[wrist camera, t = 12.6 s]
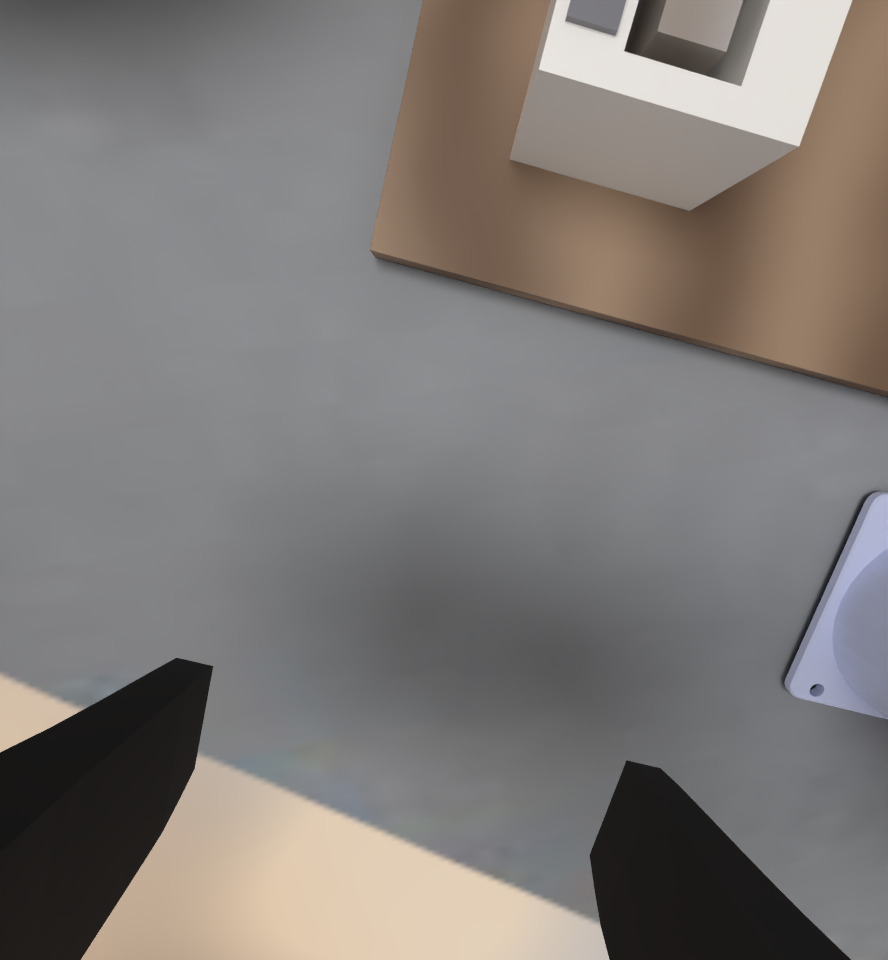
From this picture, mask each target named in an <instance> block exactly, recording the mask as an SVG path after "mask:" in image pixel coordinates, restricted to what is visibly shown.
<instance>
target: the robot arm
mask: <svg viewBox="0 0 888 960" xmlns="http://www.w3.org/2000/svg"><path fill="white" fill-rule="evenodd" d="M212 669H213V666H210V665H206V664H201V663H197V662H193V661H188V660H184V659H179V658H176V659H174V660H172V661H170V662H168V663H166V664H164V665H163V666H161V667H159V668H157V669H155V670H154V671H152V672H150V673H148V674H146V675H145V676H143V677H141V678H139V679H138V680H136V681H134V682H132V683H131V684H129V685H127V686H125V687H124V688H122V689H120V690H118V691H116V692H115V693H113V694H111V695H109V696H108V697H106V698H104V699H102V700H100V701H99V702H97V703H95V704H93V705H91V706H89V707H88V708H86V709H84V710H82V711H80V712H78V713H77V714H75V715H73V716H71V717H69V718H67V719H65V720H64V721H62V722H60V723H58V724H56V725H54V726H53V727H51V728H49V729H47V730H45V731H43V732H41V733H39V734H37V735H35V736H33V737H31V738H29V739H27V740H25V741H23V742H21V743H19V744H17V745H14V746H12V747H10V748H9V749H7V750H5V751H2V752H1V753H0V960H81V958H82V956H83V955H84V954H85V952H86V951H87V949H88V947H89V946H90V944H91V943H92V941H93V940H94V938H95V937H96V935H97V933H98V932H99V930H100V929H101V927H102V926H103V924H104V923H105V921H106V919H107V918H108V916H109V915H110V913H111V912H112V910H113V909H114V907H115V906H116V904H117V902H118V901H119V899H120V898H121V896H122V895H123V893H124V892H125V890H126V888H127V887H128V886H129V884H130V882H131V881H132V879H133V878H134V876H135V875H136V873H137V871H138V870H139V868H140V866H141V865H142V864H143V862H144V860H145V859H146V857H147V856H148V854H149V853H150V851H151V850H152V848H153V846H154V845H155V843H156V842H157V840H158V838H159V837H160V835H161V833H162V832H163V830H164V828H165V826H166V824H167V822H168V820H169V818H170V816H171V814H172V813H173V811H174V809H175V806H176V805H177V803H178V801H179V799H180V797H181V795H182V793H183V791H184V789H185V787H186V785H187V783H188V781H189V779H190V777H191V775H192V773H193V771H194V769H195V763H196V758H197V752H198V746H199V741H200V735H201V730H202V724H203V719H204V713H205V708H206V702H207V697H208V691H209V686H210V680H211V675H212ZM815 684H817V686H816V687H815V688H814V689H812V690H810V688H811V687H812V686H813V685H815ZM785 687H786V689H787V690H788V691H789V692H790V693H791V694H792V695H793V696H794V697H797V698H800V699H804V700H808V701H812V702H816V703H821V704H825V705H829V706H833V707H837V708H841V709H846V710H850V711H854V712H858V713H862V714H867V715H871V716H875V717H879V718H883V719H888V492H884V491H878V492H875V493H873V494H871V495H870V496H869V497H868V498H867V499H866V501H865V503H864V505H863V507H862V509H861V511H860V514H859V516H858V518H857V520H856V523H855V525H854V527H853V529H852V532H851V534H850V536H849V538H848V540H847V543H846V545H845V547H844V549H843V552H842V554H841V556H840V558H839V561H838V563H837V565H836V567H835V569H834V572H833V574H832V576H831V578H830V581H829V583H828V585H827V587H826V590H825V592H824V594H823V596H822V598H821V601H820V603H819V605H818V607H817V610H816V612H815V614H814V616H813V619H812V621H811V623H810V625H809V627H808V630H807V632H806V634H805V636H804V639H803V641H802V643H801V645H800V647H799V650H798V652H797V654H796V656H795V659H794V661H793V663H792V665H791V668H790V670H789V672H788V674H787V676H786V679H785ZM590 860H591V867H592V874H593V881H594V888H595V895H596V901H597V906H598V912H599V918H600V924H601V928H602V932H603V936H604V939H605V944H606V947H607V951H608V955H609V959H610V960H851V959H850V958H849V957H848V956H847V955H845V954H844V953H843V952H842V951H841V950H840V949H839V948H838V947H837V946H836V945H835V944H834V943H833V942H832V941H831V940H830V939H829V938H828V937H827V936H826V935H825V934H824V933H823V932H822V931H821V930H820V929H818V928H817V927H816V926H815V925H814V924H813V923H812V922H811V921H810V920H809V919H808V918H807V917H806V916H805V915H804V914H803V913H802V912H801V911H800V910H799V909H798V908H797V907H796V906H795V905H794V904H793V903H792V902H791V901H790V900H789V899H788V898H787V897H786V896H785V895H784V894H783V893H782V892H781V891H780V890H779V889H778V888H777V887H776V886H775V885H774V884H773V883H772V882H771V881H770V880H769V879H768V878H767V877H766V876H765V875H764V874H763V873H762V872H761V870H760V869H759V868H758V867H757V866H756V865H755V864H754V863H753V862H752V861H751V860H750V859H749V858H748V857H747V856H746V855H745V854H744V853H743V852H742V851H741V850H740V849H739V848H738V847H737V846H736V845H735V843H734V842H733V841H732V840H731V839H730V838H729V837H728V836H727V835H726V834H725V833H724V832H723V831H722V830H721V829H720V828H719V827H718V826H717V825H716V824H715V823H714V821H713V820H712V819H711V818H710V817H709V816H708V815H707V814H706V813H705V812H704V811H703V810H702V809H701V808H700V807H699V806H698V805H697V804H696V803H695V802H694V801H693V800H692V799H691V798H690V797H689V796H688V795H687V793H686V792H685V791H684V790H683V789H682V788H681V787H680V786H679V785H678V784H676V783H675V782H674V781H673V780H672V779H671V778H670V777H669V776H668V775H667V774H666V773H665V772H664V771H663V770H662V769H660V768H657V767H652V766H648V765H644V764H639V763H635V762H630V761H626V763H625V766H624V769H623V771H622V774H621V776H620V779H619V781H618V784H617V787H616V789H615V792H614V794H613V797H612V799H611V802H610V805H609V807H608V810H607V812H606V815H605V817H604V820H603V822H602V825H601V828H600V830H599V833H598V835H597V838H596V840H595V843H594V846H593V848H592V851H591V853H590Z"/></svg>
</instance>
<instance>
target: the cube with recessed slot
mask: <svg viewBox="0 0 888 960" xmlns="http://www.w3.org/2000/svg"><path fill="white" fill-rule="evenodd" d="M638 1H639V0H550V4H549V8H548V11H547V15H546V19H545V23H544V27H543V31H542V35H541V39H540V43H539V46H538V50H537V54H536V58H535V62H534V66H533V70H532V74H531V77H530V81H529V85H528V89H527V93H526V97H525V101H524V105H523V108H522V112H521V116H520V120H519V124H518V128H517V132H516V136H515V140H514V143H513V147H512V151H511V155H510V160H513V161H517V162H520V163H524V164H527V165H531V166H534V167H538V168H541V169H545V170H548V171H552V172H555V173H559V174H562V175H566V176H569V177H573V178H576V179H580V180H583V181H587V182H590V183H593V184H597V185H600V186H604V187H607V188H611V189H614V190H618V191H621V192H625V193H628V194H632V195H635V196H639V197H642V198H646V199H649V200H653V201H656V202H660V203H663V204H667V205H670V206H674V207H677V208H681V209H684V210H688V211H690V210H692V209H694V208H695V207H697V206H699V205H701V204H702V203H704V202H706V201H707V200H709V199H711V198H712V197H714V196H716V195H718V194H719V193H721V192H723V191H724V190H726V189H728V188H730V187H731V186H733V185H735V184H736V183H738V182H740V181H741V180H743V179H745V178H747V177H748V176H750V175H752V174H753V173H755V172H757V171H758V170H760V169H762V168H764V167H765V166H767V165H769V164H770V163H772V162H774V161H775V160H777V159H779V158H781V157H782V156H784V155H786V154H787V153H789V152H791V151H792V150H794V149H796V148H798V147H799V145H800V143H801V140H802V137H803V134H804V132H805V129H806V126H807V124H808V121H809V118H810V115H811V113H812V110H813V107H814V104H815V102H816V99H817V96H818V93H819V91H820V88H821V85H822V82H823V80H824V77H825V74H826V71H827V69H828V66H829V63H830V60H831V58H832V55H833V52H834V49H835V47H836V44H837V41H838V38H839V36H840V33H841V30H842V27H843V25H844V22H845V19H846V17H847V14H848V11H849V8H850V6H851V3H852V0H743V2H742V6H741V9H740V12H739V15H738V18H737V21H736V24H735V27H734V30H733V33H732V36H731V39H730V42H729V45H728V48H727V52H726V53H725V54H724V55H723V56H722V57H721V58H720V59H719V61H718V62H717V63H716V64H715V65H714V66H713V67H712V68H711V69H710V70H709V71H708V72H707V73H706V75H701V74H698V73H695V72H691V71H688V70H685V69H681V68H678V67H675V66H671V65H668V64H665V63H661V62H658V61H655V60H651V59H648V58H645V57H642V56H638V55H635V54H632V53H628V52H625V51H624V50H625V46H626V43H627V39H628V36H629V32H630V29H631V25H632V22H633V18H634V15H635V11H636V8H637V5H638Z"/></svg>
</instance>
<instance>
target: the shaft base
mask: <svg viewBox="0 0 888 960" xmlns="http://www.w3.org/2000/svg"><path fill="white" fill-rule="evenodd" d="M742 2H743V0H639V1H638V5H637V8H636V11H635V15H634V18H633V22H632V25H631V29H630V32H629V36H628V39H627V43H626V46H625V50H624V51H625V52H628V53H632V54H635V55H638V56H642V57H645V58H648V59H651V60H655V61H658V62H661V63H665V64H668V65H671V66H675V67H678V68H681V69H685V70H688V71H691V72H695V73H698V74H701V75H706V73H707V72H708V71H709V70H710V69H711V68H712V67H713V66H714V65H715V64H716V63H717V62H718V61H719V59H720V58H721V57H722V56H723V55H724V54H725V53H726V52H727V48H728V45H729V42H730V39H731V36H732V33H733V30H734V27H735V24H736V21H737V18H738V15H739V12H740V9H741V6H742ZM549 4H550V0H423V4H422V8H421V13H420V18H419V22H418V27H417V32H416V36H415V41H414V46H413V51H412V55H411V60H410V65H409V69H408V74H407V79H406V83H405V88H404V93H403V98H402V102H401V107H400V112H399V116H398V121H397V126H396V130H395V135H394V140H393V144H392V149H391V154H390V159H389V163H388V168H387V173H386V177H385V182H384V187H383V191H382V196H381V201H380V206H379V210H378V215H377V220H376V224H375V229H374V234H373V238H372V243H371V248H370V251H371V252H372V253H373V255H374V256H375V257H377V258H380V259H384V260H388V261H391V262H395V263H399V264H402V265H406V266H410V267H413V268H417V269H421V270H424V271H428V272H432V273H435V274H439V275H443V276H446V277H450V278H454V279H457V280H461V281H465V282H468V283H472V284H476V285H479V286H483V287H487V288H490V289H494V290H498V291H501V292H505V293H509V294H512V295H516V296H520V297H523V298H527V299H530V300H534V301H538V302H541V303H545V304H549V305H552V306H556V307H560V308H563V309H567V310H571V311H574V312H578V313H582V314H585V315H589V316H593V317H596V318H600V319H604V320H607V321H611V322H615V323H618V324H622V325H626V326H629V327H633V328H637V329H640V330H644V331H648V332H651V333H655V334H659V335H662V336H666V337H670V338H673V339H677V340H681V341H684V342H688V343H692V344H695V345H699V346H703V347H706V348H710V349H714V350H717V351H721V352H725V353H728V354H732V355H736V356H739V357H743V358H747V359H750V360H754V361H758V362H761V363H765V364H769V365H772V366H776V367H780V368H783V369H787V370H791V371H794V372H798V373H802V374H805V375H809V376H813V377H816V378H820V379H824V380H827V381H831V382H835V383H838V384H842V385H846V386H849V387H853V388H857V389H860V390H864V391H867V392H871V393H875V394H878V395H882V396H886V397H888V0H852V3H851V6H850V8H849V11H848V14H847V17H846V19H845V22H844V25H843V27H842V30H841V33H840V36H839V38H838V41H837V44H836V47H835V49H834V52H833V55H832V58H831V60H830V63H829V66H828V69H827V71H826V74H825V77H824V80H823V82H822V85H821V88H820V91H819V93H818V96H817V99H816V102H815V104H814V107H813V110H812V113H811V115H810V118H809V121H808V124H807V126H806V129H805V132H804V134H803V137H802V140H801V143H800V145H799V147H798V148H796V149H794V150H792V151H791V152H789V153H787V154H786V155H784V156H782V157H781V158H779V159H777V160H775V161H774V162H772V163H770V164H769V165H767V166H765V167H764V168H762V169H760V170H758V171H757V172H755V173H753V174H752V175H750V176H748V177H747V178H745V179H743V180H741V181H740V182H738V183H736V184H735V185H733V186H731V187H730V188H728V189H726V190H724V191H723V192H721V193H719V194H718V195H716V196H714V197H712V198H711V199H709V200H707V201H706V202H704V203H702V204H701V205H699V206H697V207H695V208H694V209H692V210H690V211H688V210H684V209H681V208H677V207H674V206H670V205H667V204H663V203H660V202H656V201H653V200H649V199H646V198H642V197H639V196H635V195H632V194H628V193H625V192H621V191H618V190H614V189H611V188H607V187H604V186H600V185H597V184H593V183H590V182H587V181H583V180H580V179H576V178H573V177H569V176H566V175H562V174H559V173H555V172H552V171H548V170H545V169H541V168H538V167H534V166H531V165H527V164H524V163H520V162H517V161H513V160H510V155H511V151H512V147H513V143H514V140H515V136H516V132H517V128H518V124H519V120H520V116H521V112H522V108H523V105H524V101H525V97H526V93H527V89H528V85H529V81H530V77H531V74H532V70H533V66H534V62H535V58H536V54H537V50H538V46H539V43H540V39H541V35H542V31H543V27H544V23H545V19H546V15H547V11H548V8H549Z"/></svg>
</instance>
